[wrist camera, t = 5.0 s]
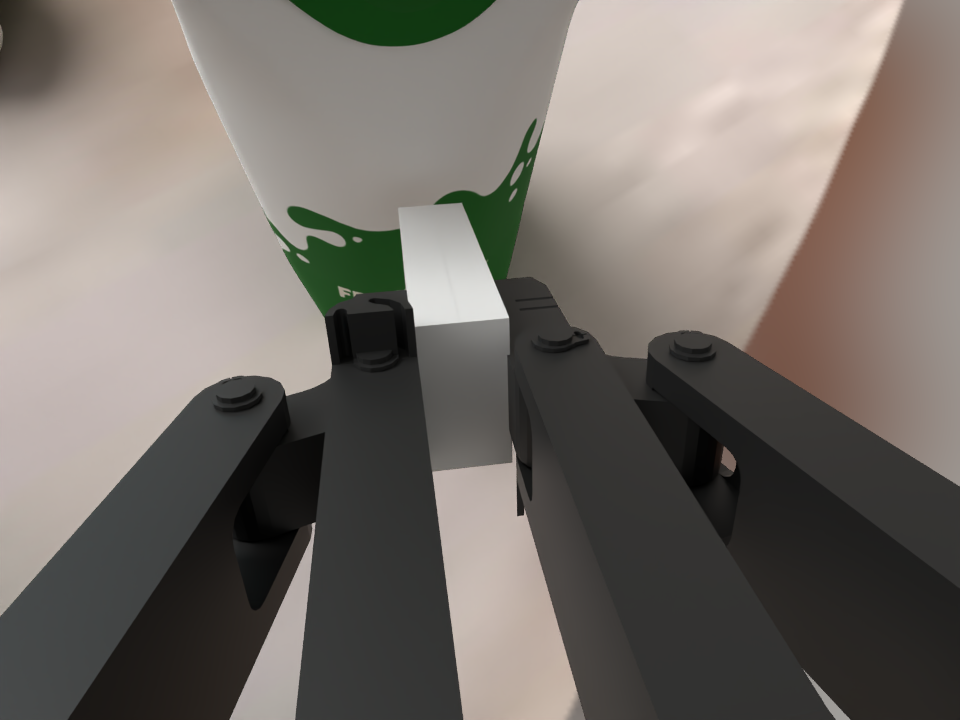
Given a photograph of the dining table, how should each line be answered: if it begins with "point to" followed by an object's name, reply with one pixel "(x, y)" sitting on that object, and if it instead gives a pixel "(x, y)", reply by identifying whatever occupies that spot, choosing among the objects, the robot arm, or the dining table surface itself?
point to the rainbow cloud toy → (1, 37)
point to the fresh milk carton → (379, 120)
